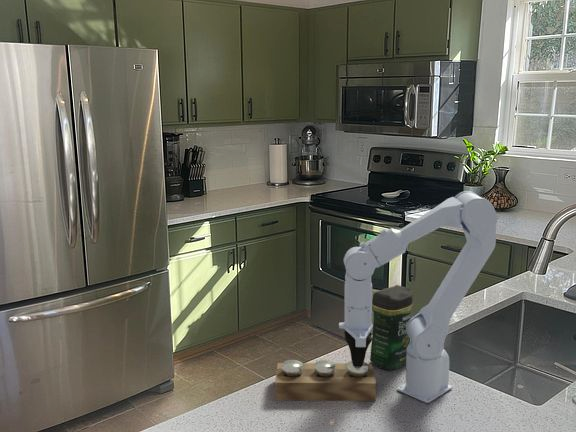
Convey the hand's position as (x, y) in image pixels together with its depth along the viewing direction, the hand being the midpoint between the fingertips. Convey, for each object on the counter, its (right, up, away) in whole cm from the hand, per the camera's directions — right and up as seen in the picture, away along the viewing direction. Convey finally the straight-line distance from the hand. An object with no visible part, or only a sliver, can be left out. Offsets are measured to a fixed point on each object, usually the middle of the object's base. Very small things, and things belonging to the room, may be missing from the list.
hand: (357, 364), depth 120 cm
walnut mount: (-7, -6, +1) cm, 9 cm away
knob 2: (0, -6, +1) cm, 6 cm away
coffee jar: (+10, -3, +14) cm, 17 cm away
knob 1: (-14, -6, +2) cm, 15 cm away
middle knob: (-7, -6, +1) cm, 9 cm away
